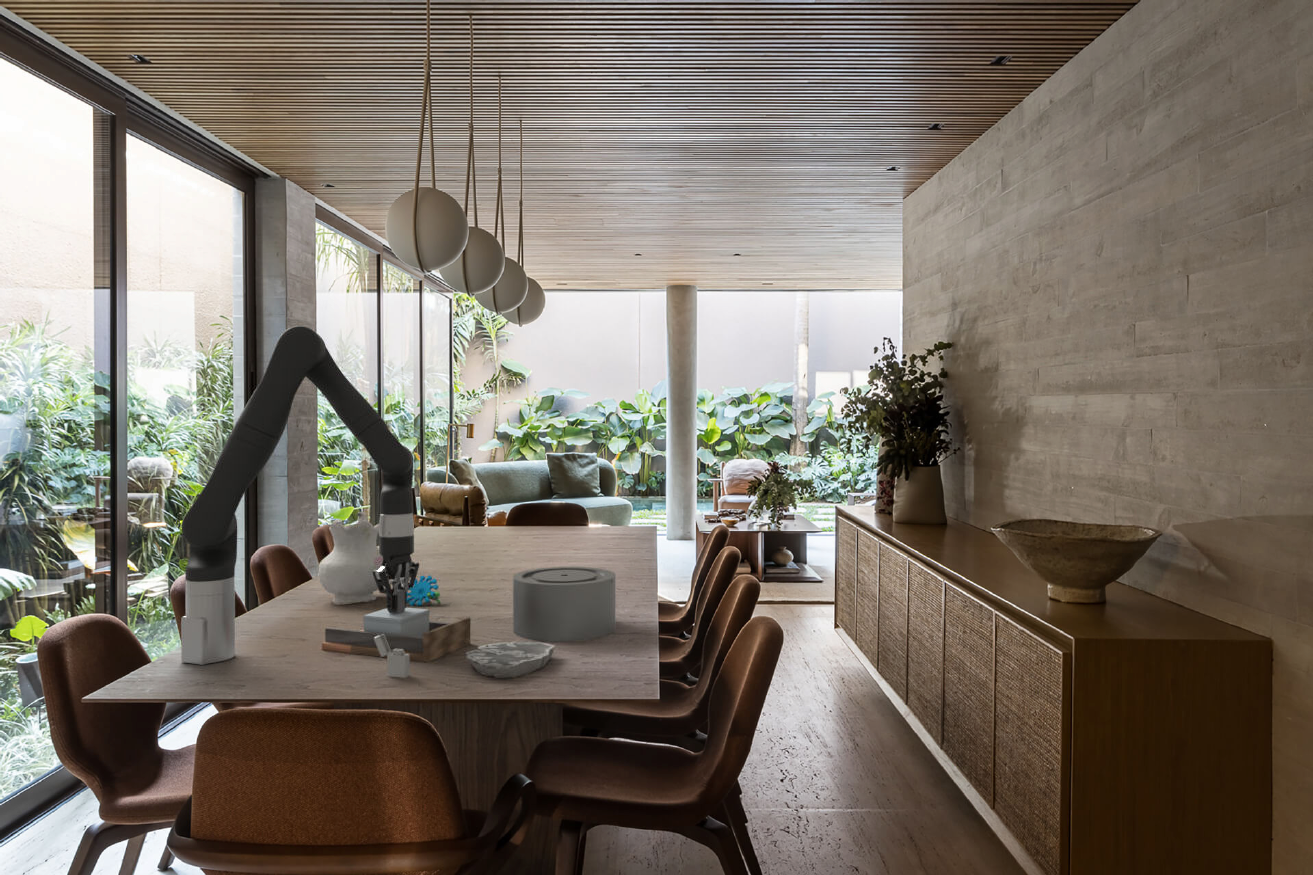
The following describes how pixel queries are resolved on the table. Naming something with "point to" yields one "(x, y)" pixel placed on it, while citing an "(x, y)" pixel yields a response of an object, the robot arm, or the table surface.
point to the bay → (403, 641)
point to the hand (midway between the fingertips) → (396, 609)
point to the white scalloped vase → (351, 562)
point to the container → (563, 603)
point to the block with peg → (398, 620)
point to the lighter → (393, 658)
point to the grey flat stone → (510, 658)
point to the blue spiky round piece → (423, 591)
